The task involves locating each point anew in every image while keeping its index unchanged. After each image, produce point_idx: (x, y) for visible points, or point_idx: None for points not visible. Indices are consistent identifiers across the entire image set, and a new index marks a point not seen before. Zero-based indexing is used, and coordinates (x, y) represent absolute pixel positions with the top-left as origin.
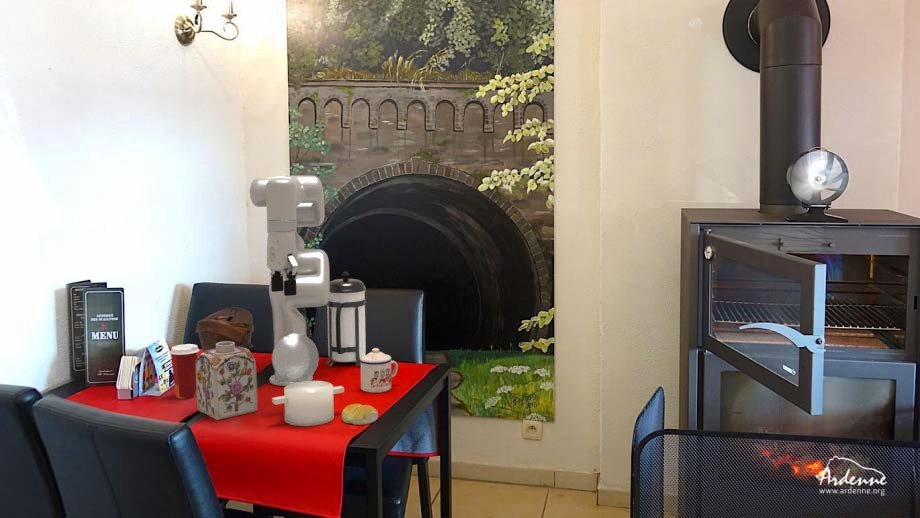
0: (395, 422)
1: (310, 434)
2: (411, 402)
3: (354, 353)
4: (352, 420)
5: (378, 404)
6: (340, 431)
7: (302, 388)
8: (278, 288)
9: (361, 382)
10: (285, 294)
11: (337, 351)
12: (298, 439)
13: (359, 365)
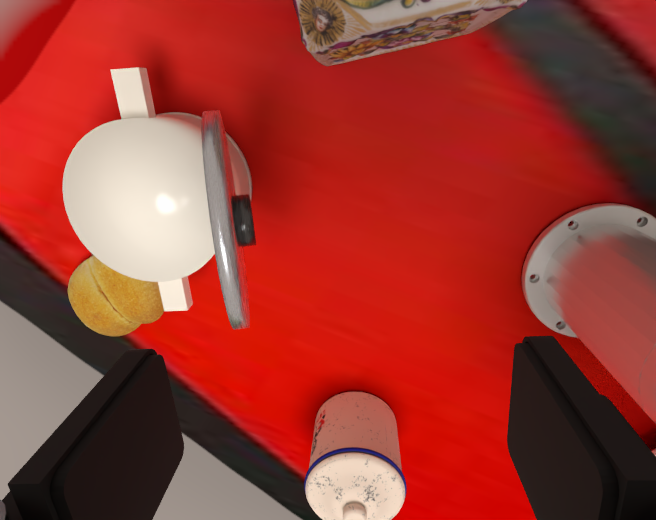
0: (71, 345)
1: (50, 138)
2: (201, 435)
3: None
4: (82, 262)
5: (221, 372)
6: (49, 214)
7: (137, 181)
8: (522, 420)
9: (361, 404)
10: (129, 360)
11: None
12: (20, 95)
13: None
